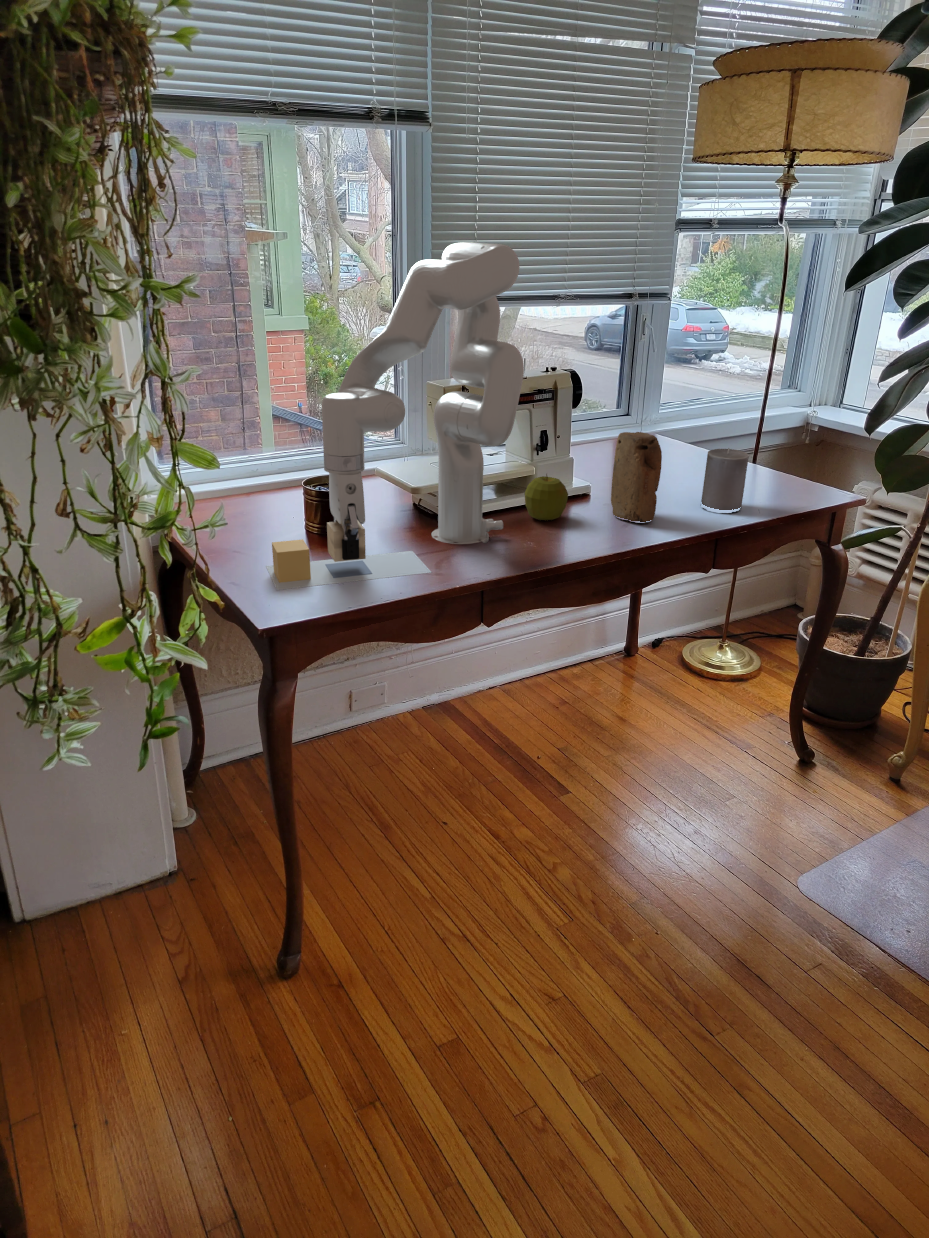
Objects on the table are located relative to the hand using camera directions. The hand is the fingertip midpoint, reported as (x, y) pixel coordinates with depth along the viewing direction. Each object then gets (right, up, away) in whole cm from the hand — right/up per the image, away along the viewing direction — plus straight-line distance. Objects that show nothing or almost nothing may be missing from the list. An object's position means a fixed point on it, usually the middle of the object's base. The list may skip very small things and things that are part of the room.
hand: (346, 552), depth 179 cm
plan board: (0, -4, +2) cm, 5 cm away
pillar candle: (+86, +14, +47) cm, 99 cm away
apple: (+42, +10, +37) cm, 57 cm away
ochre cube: (-10, -5, -2) cm, 11 cm away
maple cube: (0, -1, 0) cm, 1 cm away
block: (+62, +10, +38) cm, 74 cm away
